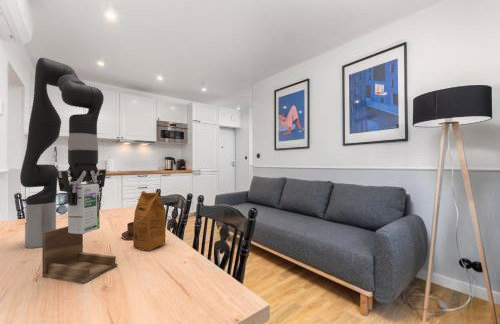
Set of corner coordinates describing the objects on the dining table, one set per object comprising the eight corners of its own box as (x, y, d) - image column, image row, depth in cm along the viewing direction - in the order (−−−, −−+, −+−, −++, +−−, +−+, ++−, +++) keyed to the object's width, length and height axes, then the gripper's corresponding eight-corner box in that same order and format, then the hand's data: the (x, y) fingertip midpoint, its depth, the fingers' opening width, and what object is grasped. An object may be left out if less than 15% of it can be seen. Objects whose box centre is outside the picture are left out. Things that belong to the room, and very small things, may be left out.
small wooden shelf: (42, 276, 67) (42, 232, 67) (79, 261, 78) (79, 223, 78) (83, 284, 63) (83, 237, 63) (116, 266, 73) (116, 226, 73)
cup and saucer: (156, 235, 106) (156, 222, 106) (130, 242, 96) (130, 228, 96) (141, 231, 113) (141, 218, 113) (116, 238, 102) (116, 224, 102)
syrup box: (83, 234, 67) (83, 185, 67) (67, 233, 68) (67, 184, 68) (99, 228, 72) (99, 183, 72) (84, 228, 73) (84, 183, 74)
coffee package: (151, 239, 100) (151, 189, 100) (169, 245, 92) (168, 191, 92) (128, 246, 91) (128, 191, 92) (145, 253, 84) (145, 194, 84)
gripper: (95, 150, 78) (95, 199, 78) (48, 148, 64) (48, 207, 64) (112, 150, 76) (113, 200, 76) (68, 147, 62) (68, 208, 62)
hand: (83, 203), depth 70 cm, fingers closed on syrup box, 6 cm apart
